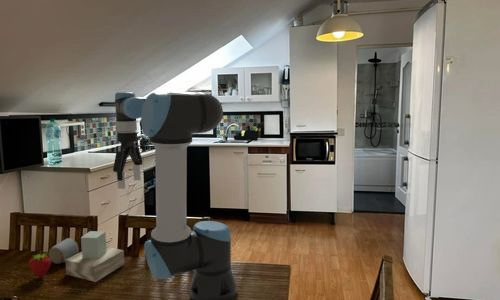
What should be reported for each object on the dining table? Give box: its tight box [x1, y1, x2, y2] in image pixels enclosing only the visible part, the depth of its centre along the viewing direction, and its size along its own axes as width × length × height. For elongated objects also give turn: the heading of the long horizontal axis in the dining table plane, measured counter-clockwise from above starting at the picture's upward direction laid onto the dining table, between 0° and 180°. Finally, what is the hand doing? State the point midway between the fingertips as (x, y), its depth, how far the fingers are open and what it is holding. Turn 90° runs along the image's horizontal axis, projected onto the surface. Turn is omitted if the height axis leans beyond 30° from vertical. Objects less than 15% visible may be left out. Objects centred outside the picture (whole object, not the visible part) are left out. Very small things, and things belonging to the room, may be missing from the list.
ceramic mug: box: [48, 237, 80, 265], centre depth 133 cm, size 11×8×8 cm
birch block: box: [64, 246, 125, 283], centre depth 127 cm, size 14×14×6 cm
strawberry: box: [28, 251, 52, 279], centre depth 120 cm, size 6×8×10 cm
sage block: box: [80, 230, 107, 259], centre depth 125 cm, size 6×6×8 cm
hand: (129, 184), depth 138 cm, fingers open, 13 cm apart
